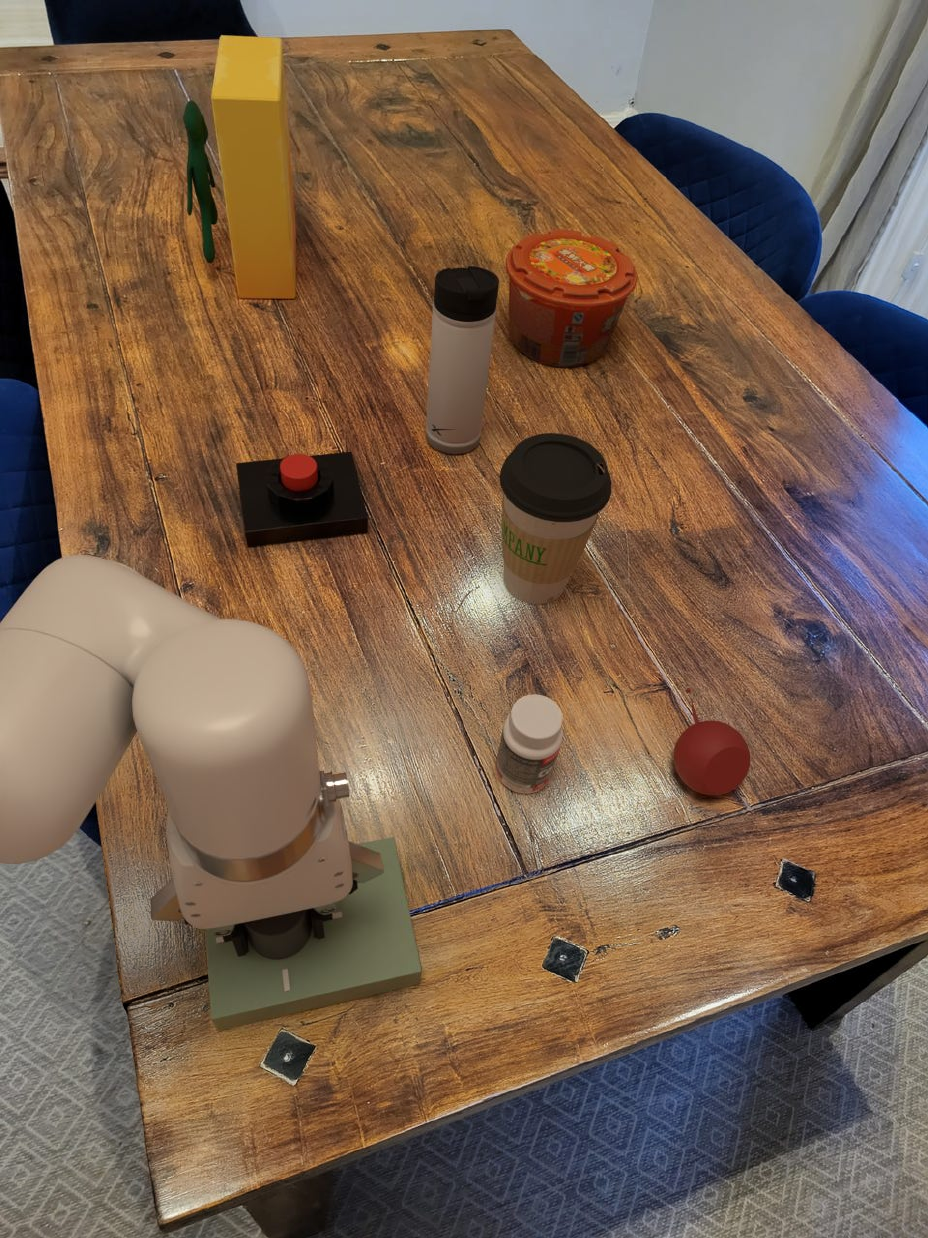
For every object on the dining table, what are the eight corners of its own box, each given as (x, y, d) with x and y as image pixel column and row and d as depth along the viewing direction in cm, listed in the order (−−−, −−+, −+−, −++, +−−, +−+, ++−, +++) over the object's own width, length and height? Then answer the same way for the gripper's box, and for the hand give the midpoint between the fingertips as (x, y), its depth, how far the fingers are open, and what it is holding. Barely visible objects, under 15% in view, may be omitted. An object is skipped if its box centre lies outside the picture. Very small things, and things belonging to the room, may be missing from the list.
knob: (250, 966, 59) (241, 941, 55) (244, 903, 61) (235, 875, 57) (316, 952, 60) (312, 926, 56) (307, 890, 62) (303, 861, 58)
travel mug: (434, 460, 96) (445, 295, 80) (419, 422, 100) (427, 257, 84) (488, 453, 98) (510, 290, 82) (471, 416, 101) (489, 253, 86)
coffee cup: (486, 539, 89) (502, 423, 78) (581, 547, 90) (612, 432, 78) (483, 614, 83) (501, 500, 71) (586, 623, 84) (620, 510, 72)
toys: (206, 228, 122) (175, 32, 103) (296, 230, 124) (281, 37, 105) (197, 298, 112) (161, 94, 93) (295, 299, 113) (280, 98, 94)
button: (283, 493, 86) (282, 480, 85) (279, 468, 88) (278, 455, 87) (320, 489, 87) (319, 476, 85) (315, 465, 89) (314, 451, 87)
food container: (640, 334, 115) (661, 256, 106) (582, 393, 106) (600, 313, 97) (536, 289, 119) (549, 212, 111) (472, 342, 110) (480, 263, 102)
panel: (217, 1031, 59) (210, 1019, 56) (207, 890, 65) (201, 873, 62) (420, 984, 62) (422, 970, 59) (393, 853, 68) (394, 835, 65)
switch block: (247, 547, 86) (242, 518, 83) (238, 478, 92) (233, 449, 89) (368, 533, 89) (367, 504, 85) (352, 466, 94) (351, 437, 91)
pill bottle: (542, 802, 71) (559, 751, 65) (487, 784, 72) (498, 731, 66) (557, 755, 74) (575, 701, 68) (504, 737, 75) (517, 682, 68)
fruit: (717, 758, 78) (719, 678, 75) (757, 791, 73) (761, 707, 70) (657, 776, 76) (656, 695, 73) (693, 811, 71) (694, 726, 68)
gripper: (394, 720, 50) (390, 851, 64) (81, 772, 47) (150, 899, 61) (422, 841, 46) (410, 953, 60) (78, 909, 42) (153, 1011, 56)
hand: (279, 925), depth 60 cm, fingers closed on knob, 4 cm apart
